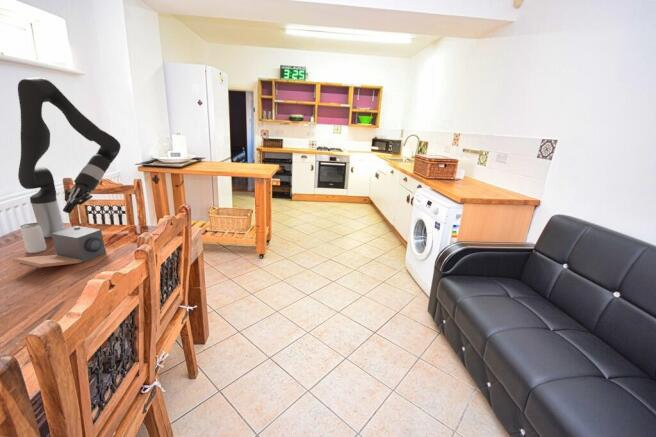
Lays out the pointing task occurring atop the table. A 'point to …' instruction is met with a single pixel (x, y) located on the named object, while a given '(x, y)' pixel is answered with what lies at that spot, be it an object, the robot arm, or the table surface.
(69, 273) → the table surface
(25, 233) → the can
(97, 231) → the camera body
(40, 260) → the side door
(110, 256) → the table surface
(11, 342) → the table surface
